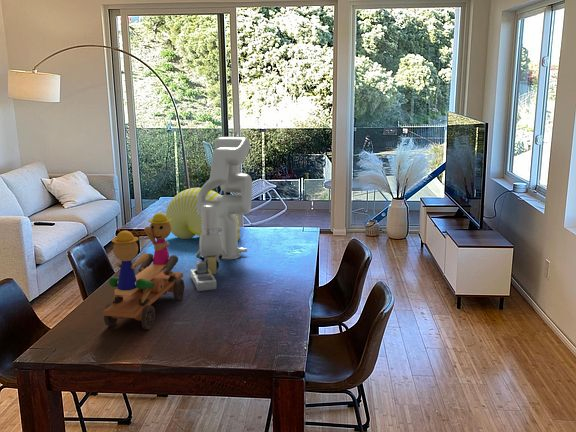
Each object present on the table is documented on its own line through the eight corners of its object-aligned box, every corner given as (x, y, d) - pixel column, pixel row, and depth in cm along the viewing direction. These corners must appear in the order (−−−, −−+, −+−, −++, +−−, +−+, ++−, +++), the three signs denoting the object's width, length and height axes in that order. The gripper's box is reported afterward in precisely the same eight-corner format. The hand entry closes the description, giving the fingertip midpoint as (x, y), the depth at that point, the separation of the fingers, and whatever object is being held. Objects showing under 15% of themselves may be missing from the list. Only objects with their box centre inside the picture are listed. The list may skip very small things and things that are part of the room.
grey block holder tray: (208, 275, 263) (208, 267, 262) (216, 288, 245) (216, 281, 244) (191, 277, 260) (190, 269, 259) (197, 290, 242) (197, 283, 242)
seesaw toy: (141, 337, 198) (135, 237, 190) (99, 334, 200) (91, 235, 193) (188, 292, 241) (184, 209, 233) (152, 290, 244) (148, 207, 236)
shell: (229, 260, 308) (241, 248, 337) (243, 205, 302) (254, 197, 331) (152, 237, 312) (171, 227, 341) (164, 182, 306) (182, 176, 335)
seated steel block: (205, 277, 259) (204, 260, 257) (206, 280, 255) (206, 263, 254) (196, 278, 258) (195, 261, 256) (197, 281, 254) (197, 264, 252)
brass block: (214, 270, 269) (214, 254, 267) (216, 273, 265) (216, 256, 263) (206, 271, 268) (205, 255, 266) (207, 274, 264) (207, 257, 262)
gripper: (226, 228, 268) (227, 265, 272) (190, 230, 263) (192, 269, 267) (230, 231, 261) (230, 270, 265) (193, 234, 256) (194, 274, 260)
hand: (211, 269), depth 266 cm, fingers closed on brass block, 4 cm apart
